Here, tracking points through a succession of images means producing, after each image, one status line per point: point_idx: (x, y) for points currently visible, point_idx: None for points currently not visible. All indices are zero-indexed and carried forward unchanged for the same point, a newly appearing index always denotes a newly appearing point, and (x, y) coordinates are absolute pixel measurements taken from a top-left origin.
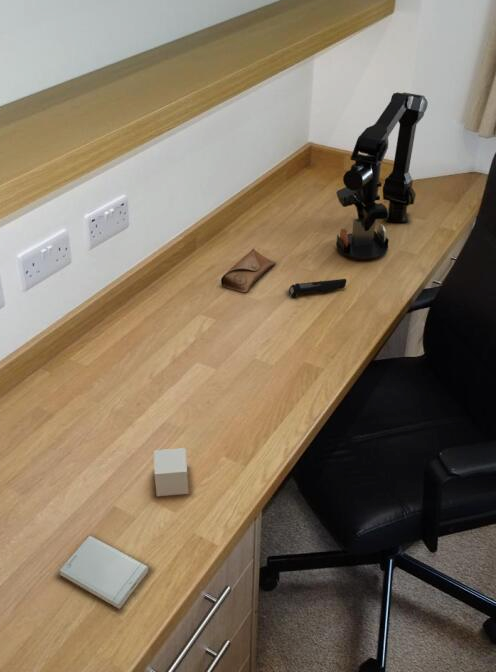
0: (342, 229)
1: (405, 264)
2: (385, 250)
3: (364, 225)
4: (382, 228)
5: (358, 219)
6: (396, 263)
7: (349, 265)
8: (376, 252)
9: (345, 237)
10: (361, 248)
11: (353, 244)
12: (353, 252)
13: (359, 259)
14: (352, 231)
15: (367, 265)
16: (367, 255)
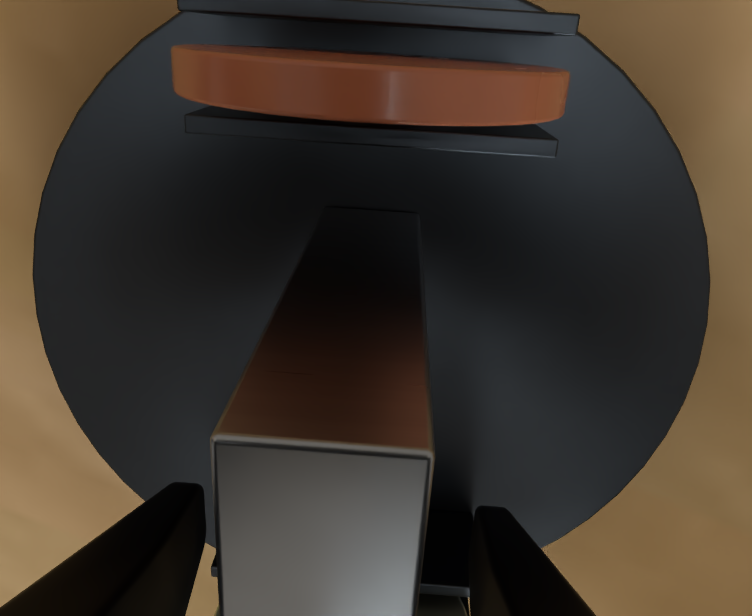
0: (457, 69)
1: (17, 552)
2: None
3: (98, 563)
4: None
5: (374, 570)
6: (40, 498)
7: (33, 10)
8: (140, 413)
9: (226, 49)
10: (269, 294)
11: (324, 218)
12: (184, 148)
13: None
14: (409, 288)
15: (19, 229)
16: (84, 291)
